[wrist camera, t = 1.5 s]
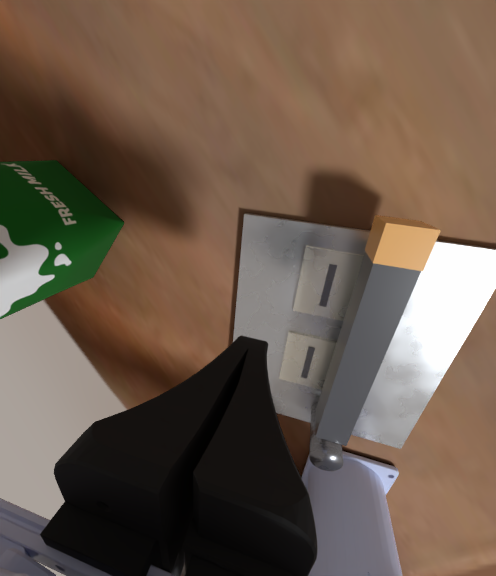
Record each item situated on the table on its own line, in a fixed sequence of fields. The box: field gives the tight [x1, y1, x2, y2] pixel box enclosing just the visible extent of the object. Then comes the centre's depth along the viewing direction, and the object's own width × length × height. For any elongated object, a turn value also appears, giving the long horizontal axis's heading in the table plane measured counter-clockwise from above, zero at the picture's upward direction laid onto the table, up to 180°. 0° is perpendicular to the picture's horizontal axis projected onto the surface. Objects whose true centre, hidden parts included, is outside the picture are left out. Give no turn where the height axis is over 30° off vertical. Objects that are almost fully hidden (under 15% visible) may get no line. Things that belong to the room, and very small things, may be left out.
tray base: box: [233, 213, 496, 471], centre depth 18 cm, size 18×16×5 cm
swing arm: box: [315, 215, 441, 446], centre depth 16 cm, size 16×2×2 cm, turn 174°
